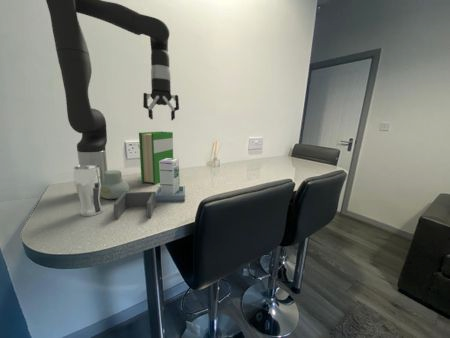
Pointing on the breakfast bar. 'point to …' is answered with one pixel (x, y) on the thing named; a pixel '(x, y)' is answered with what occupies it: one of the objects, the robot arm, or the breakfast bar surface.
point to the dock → (135, 202)
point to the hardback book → (154, 153)
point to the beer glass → (88, 188)
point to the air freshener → (113, 185)
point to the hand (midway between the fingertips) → (162, 119)
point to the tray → (170, 196)
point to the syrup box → (169, 176)
